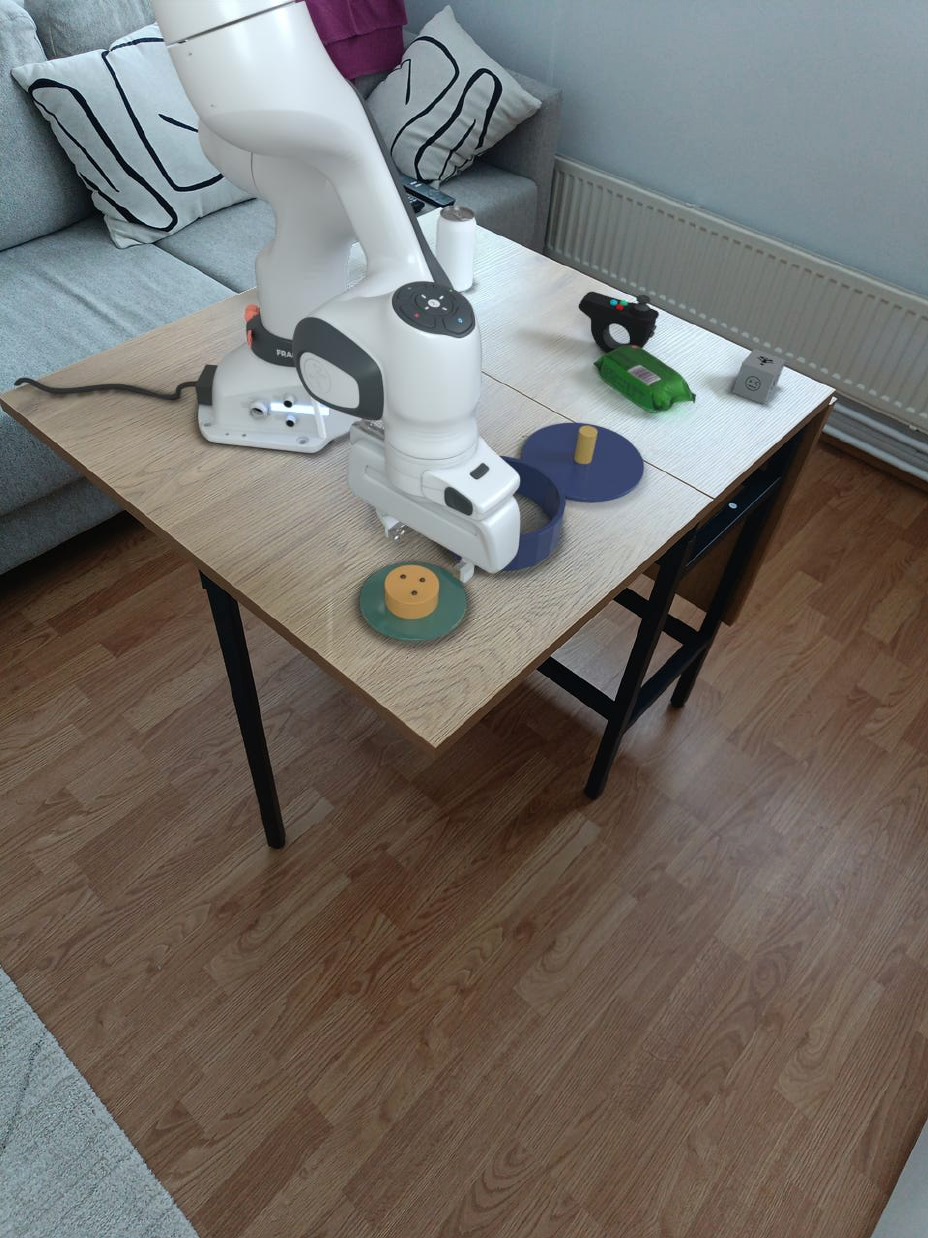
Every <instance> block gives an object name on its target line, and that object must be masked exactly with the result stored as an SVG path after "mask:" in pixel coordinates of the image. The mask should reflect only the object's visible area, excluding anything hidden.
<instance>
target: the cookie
mask: <svg viewBox="0 0 928 1238" xmlns="http://www.w3.org/2000/svg"><path fill="white" fill-rule="evenodd" d="M438 595H439V581H438V578H437V577H436V575H435V574H434V573H433V572H432V571H431V570H429V569H427V568H425V567H422V566H418V565H404V566H400V567H398V568H396V569H394V570H392V571H391V572H390V573H389V574H388V575H387V577H386V579H385V604H386V606H387V608H388V609H389V611H390V612H391V613H393V614H394V615H396V616H398V617H400V618H404V619H420V618H423V617H426V616H428V615H429V614H431V613H432V612H433V611H434V610H435V609H436V607H437V604H438Z"/></svg>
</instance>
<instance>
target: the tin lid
mask: <svg viewBox="0 0 928 1238" xmlns="http://www.w3.org/2000/svg"><path fill="white" fill-rule="evenodd" d="M520 456H521V457H520V459H522V460H525V461H527V462H530V463H532V464H535V465H537V466H539V467H541V468H542V469H544V470H545V471H546V472H548V473H549V474H551V475H552V476H553V477H554V478H555V479H556V480H557V482H558V483H559V484H560V486H561V487H562V489H563V492H564V496H565V500H570V501H575V502H580V503H581V502H582V503H602V502H603V503H604V502H610V501H613V500H617V499H621V498H622V497H625V496H626V495H628V494H630V493H631V492H633V491H634V490H635V489H636V488H637V487H638V486H639V484H640V483H641V481H642V479H643V476H644V470H645V463H644V460H643V457H642V454H641V452H640V451H639V450H638V448H637V447H636V446H635V445H634V444H633V443H632V442H631V441H630V440H628V439H627V438H626V437H624V436H623V435H621V434H619V433H618V432H615V431H614V430H611V429H609V428H607V427H603V426H600V425H596V424H591V423H584V422H561V423H555V424H551V425H547V426H545V427H542V428H540V429H538V430H536V431H535V432H533V433H532V434H531V435H530V436H529V437H528V438H527V439H526V440H525V442H524V443H523V446H522V449H521V455H520Z"/></svg>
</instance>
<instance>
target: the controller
mask: <svg viewBox="0 0 928 1238" xmlns="http://www.w3.org/2000/svg"><path fill="white" fill-rule="evenodd" d="M650 303H651V297H650V296H648V295H646V294H639V295H638V296H636V302H629V301H627V300H624V299H619V298H616V297H612V296H609V295H606V294H603V293H599V292H596V291H588V292H587V293H585V295H584V296H583V297H582V299H581V300H580V302H579V303H578V306H577V308H578V310H579V311H580V312H581V313H583V314H584V315H585V316H587V317H588V318H589V319H590V332H591V337H592V338H593V340H594V342H595V344H596V345H597V346H598V347H599V348H600V349H601V350H602V351H603V352H605V354H607V353H609V352H611V351H613V350H615V349H617V348H619V347H621V346H625V345H636V346H638V347H641V348H642V349H644V347H645V345H647V343H648V342H649V340H650V339H651V338H653V337H654V336H655V334H656V332H655V330H657V327H658V326H657V325H656V322H657V319H658V318H659V316H660V313H659V311H658V310H656V309H654V308H652V307H650V306H649V305H648V304H650ZM611 325H617V326H621V327H622V328H624V329H625V330H626V332H627V334H628V336H629V341H628V342H627V343H622V342H619V341H616V340H615V339H614V337H613V336H612V334H611V332H610V326H611Z"/></svg>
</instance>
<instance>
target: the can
mask: <svg viewBox="0 0 928 1238" xmlns="http://www.w3.org/2000/svg"><path fill="white" fill-rule="evenodd" d="M475 214H476V213H475V211H473V209H471V208H469V207H467V206H462V205H448V206H445V207H443V208H441V209H440V210H439V216H438V218H437V221H436V232H435V233H436V234H435V258H436V259H437V261H438V262H439V264H440V265H441V267H442V269H443V270H444V272H445V273H446V275H447V277H448V278H449V280H450V282H451V283H452V286H453V288H454V290H456V291H458V292H459V293H464V292H466V291H468V290H469V289H470V288H471V287H472V286H473V282H474V270H475V269H474V268H475V255H476V241H477V240H476V239H477V221H476V218H475V216H476V215H475Z"/></svg>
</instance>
